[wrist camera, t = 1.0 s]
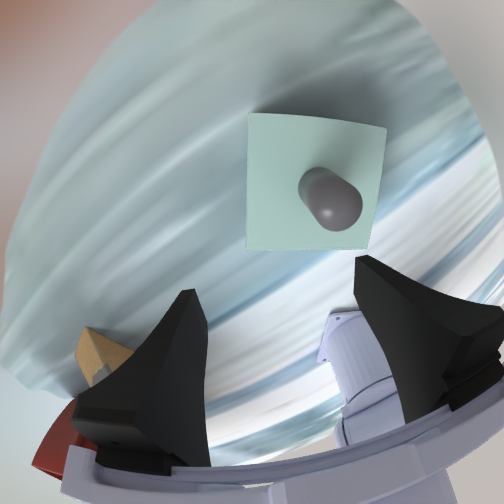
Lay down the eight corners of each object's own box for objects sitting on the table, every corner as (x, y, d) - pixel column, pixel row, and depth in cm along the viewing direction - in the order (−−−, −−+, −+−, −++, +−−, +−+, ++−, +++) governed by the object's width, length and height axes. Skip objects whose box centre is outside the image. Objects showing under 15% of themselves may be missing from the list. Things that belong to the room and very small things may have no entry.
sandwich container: (84, 322, 26) (38, 435, 13) (197, 376, 31) (193, 487, 18) (73, 356, 29) (41, 448, 16) (169, 400, 34) (162, 492, 21)
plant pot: (128, 437, 42) (120, 503, 28) (52, 391, 34) (29, 465, 19) (190, 424, 38) (188, 512, 24) (97, 369, 30) (67, 476, 15)
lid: (377, 126, 15) (420, 136, 11) (359, 240, 19) (389, 276, 15) (247, 112, 14) (254, 112, 10) (245, 241, 19) (250, 283, 14)
